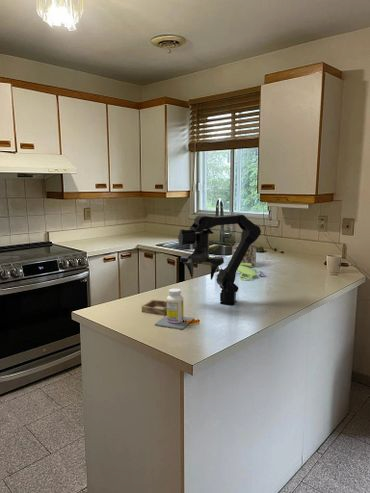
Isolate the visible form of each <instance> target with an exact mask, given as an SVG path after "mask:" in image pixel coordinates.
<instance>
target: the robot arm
mask: <svg viewBox="0 0 370 493" xmlns="http://www.w3.org/2000/svg"><path fill="white" fill-rule="evenodd" d="M236 224H237V225H238V226H239V228H240V229H241V231H242V232H241V236H240V238H241V239H240V241H239V242H240V243H239V245H238V247H237V249H236V251H235V253H234V254H233V256H232V255H231V258H230V260H229V262H228V263H227V265H226V267H225V268H223V269H222V268H220V269H219V271H218V273H217V274H216V279H215V281H216V283H217V285H218V286H219V288H220V289H221V290H220V291H221V292H220V293H219V301H220V302H219V304H220V305H228V306H234V305H235V304H236V303H238V300H237V292H238V291H239V286H238V285H237V284H236V283H235V282H236V277H237V276H236V274H237V271H238V270H237V269H238V267H239V265H240V263H241V262H242V260H243V258H244V256H245V254H246V252H247V250H248V248H249V247H250V245H251V244H252V243H253V244H254V243H255V242H256V241H257V240H258V238H259V237H260V236H261V234H262V229H261V228H260V226H259V225H256V224H255V223H254V222H252V221H251V220H249V218H248V217H246V215H245V214H240V213H238V214H233V215H219V216H217V215H216V216H211V215H200V214H198V215H196V216H195V218H194V222H193V223H192V225H191V226H190V228H189V229H185V228H184V229H183V228H181V229H180V230H179V233H178V236H177V240H178V244H179V245H180V246H189V245H190V246H191V245H192V246H193V245H194V244H195V246H194V250H193V252H192V253H191V254H190V253H184V254H183V255H182V254H181V256H180V258H179V259H180V260H179V262H180V263H183V265H185V266H186V268H187V269H188V272H189V275H190V277H191V279H192V278H193V277H194V264H198V265H200V264H202V263H211V265H210V268H211V269H210V280H211V281H212V280H213V278H214V276H215V273H216V271H217V269H218V267H219V266H221V265H223V264H224V263H225V262H224V260H225V259H224V257H223V256H213V257H210V254H209V249H210V243H209V242H210V241H209V237H210V236H209V235H213V234H214V232H213V230H212V229H211V228H214V227H217V226H225V225H226V226H227V225H236Z"/></svg>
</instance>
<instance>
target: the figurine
mask: <svg viewBox="0 0 370 493" xmlns="http://www.w3.org/2000/svg"><path fill="white" fill-rule="evenodd" d="M243 265H245V266H252V264H251V263H241V264H240V265H239V267H238V269H237V271H238V272H240V275H239V279H240V280H241V281H245V282H247V281H250V280H252V279H253V278H254V277H256V276H257V274H258V276H259V277H264V275H265V272H263V271H261V270H254V269H253V268H248V267H245V266H243Z"/></svg>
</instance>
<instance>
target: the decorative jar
mask: <svg viewBox="0 0 370 493" xmlns="http://www.w3.org/2000/svg"><path fill="white" fill-rule="evenodd" d="M239 243H240V241H237V242H236V243H234V245H232V247H231V248H232V249H231V257H232V256H233V254H234V253H235V251H236V249H237V247H238V245H239ZM256 262H257V247H256V246H255V244H254V242H253V243H252V244H251V245H250V247H249V248H248V250H247V252H246V254H245V256H244V258H243V260H242V262H241V263H251V264H252V266H245V265H243V266H245V267H248V268H250V269H254V268H256V266H257V265H256V264H257V263H256ZM241 263H240V264H241Z"/></svg>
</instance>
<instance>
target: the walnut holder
mask: <svg viewBox="0 0 370 493" xmlns="http://www.w3.org/2000/svg"><path fill="white" fill-rule="evenodd" d="M162 307H163V308H162ZM145 312H146V313H147V314H153V315H160V316H166V315H167V300H159V299H151V300H149V301H148V302H146V303H145V304H143V305H142V306H141V313H145Z"/></svg>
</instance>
